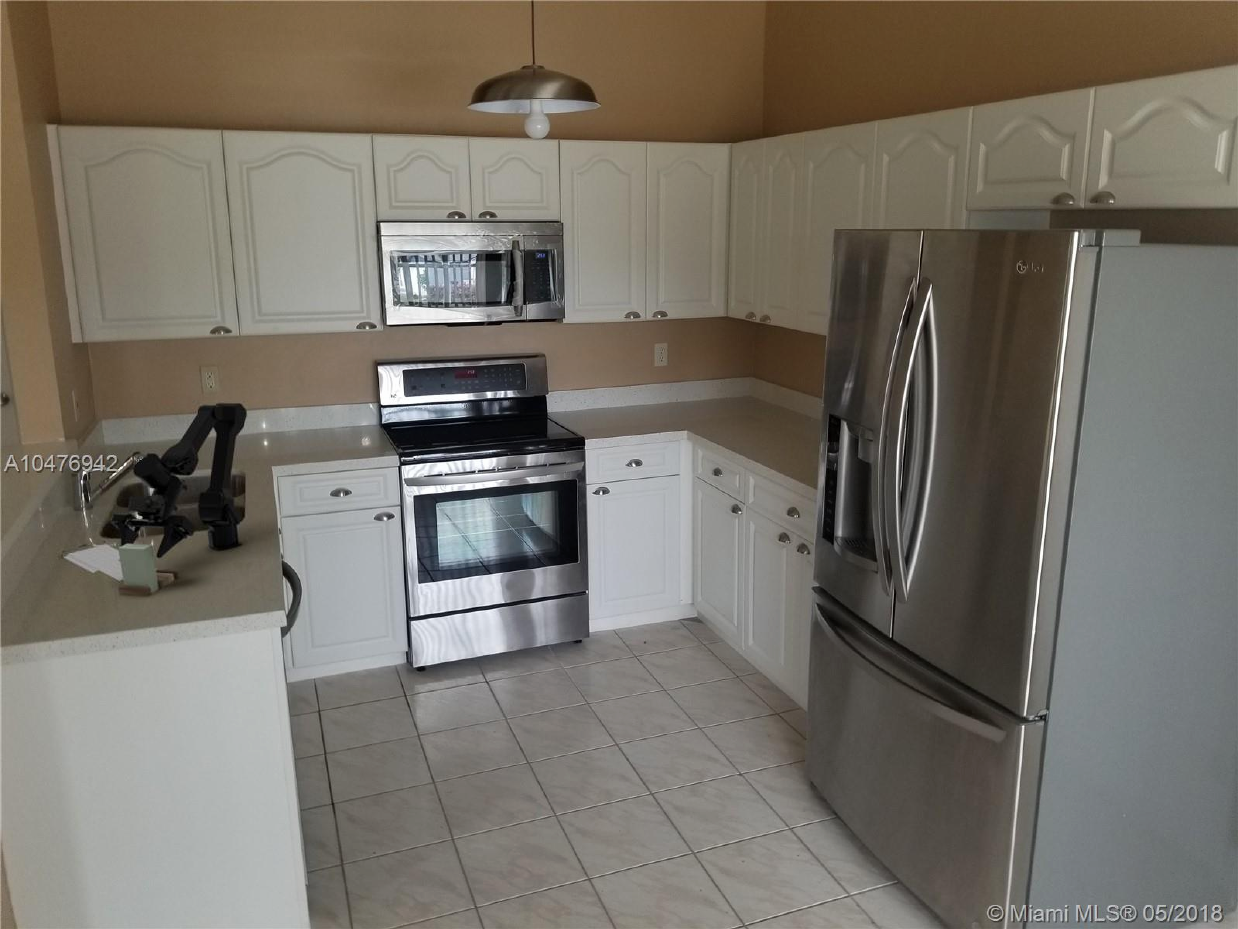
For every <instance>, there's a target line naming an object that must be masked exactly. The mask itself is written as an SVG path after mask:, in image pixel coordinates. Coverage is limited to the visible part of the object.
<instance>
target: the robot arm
mask: <svg viewBox="0 0 1238 929" xmlns="http://www.w3.org/2000/svg"><path fill="white" fill-rule="evenodd" d="M247 412H248V411H247V409H246V408H245V407H244V405H243V404H242V403H240V402H236V403H235V402H217V403H216V404H203V405H200V406H199V407H198V409H197V414H196V415H195V417H194V419H193V420H192V422H191V423H190V425H188V428H187V429H186V431H185V433H184V434H183V435H182V437H181V439H180V440H179V442H178V443H176V444H174V445H172V446H169V447H168V449H167V450H166V451H165V452H164V453H163V455H162V456H161V458H160V457H159V455H158V454H157V453H151V452H150V453H149V452H148V453H147V454H146V455H145V456H146V457H143V458H141V459H139V460H138V461H137V462H136V463H135V464H134V465H133V468H132V469H133V470H132V472H133V475H134V476H136V477H137V478H138V479H139V480H140V481H141V482H142V483H143V484H144V485H145V486H147V487H148V488H150V489H153V490H152V493H151V495H146V496H145V497H142V496H141V497H139V496H138V497H136V496H130V497H129V502H128V508H127V511H128V512H116V513H114V514H113V515H112V518H111V519H110V523H111V524H112V525H113V526H114V527H115V528H116V529H118V530H119V534H120V547H121V546H123V545H125V544H135V542H136V540H137V539H138V537H139V534H138V533H139V532H140V531H141V529H142V528H149V529H150V528H151V529H163V537H162V539H161V542H160V544H159V547H158V548H157V552H156V557H157V558H158V559H161V558H162V557H163V556H165V554H167V553H168V552H169V551H170V550H172V549H173V547H175V546H177V544H179V543H180V542H181V541H183V540H185V539H186V540H187V538H188V537H192V536H193V535H194V534H195V531H196V525H195V523H193V521H191V520H190V519H189V518H188V517H187V516H185V515H179V514H177V515H175V514H173V512H177V511H178V506H177V502H178V499H179V496H180V495H181V491H184V492H186V491H188V490H189V488H188V485H187V484H186V480H185V479H180V478H179V477H178V476H180V477H181V476H182V477H184V476H185V477H187V476H192V475H193V473H194V472H195V470H196V468H197V466H198V463H199V461H200V460H199V451H201V448H202V447H203V445H204V444H205V442H206V440H207V439H208V438H209V435H210V433H211V432H212V431H213V429H214V432H215V442H214V449H213V455H212V463H211V470H210V477H209V486H208V488H207V489H206V490H205V491H201V492H200V493H199V494H198V497H199V498H198V503H197V514H198V516H199V518H200V520H201V524H202V526H208V531H207V538H208V543H207V544H208V547H210V548H212V549H215V550H217V551H223V550H226V549H229V548H234V547H236V546H242V545H243V543H242V541H239V534H238V533H239V532H238V526H237V525H240V523H241V522H242V519H243V517H242V516H243V514H242V513H241V511H239V510H238V509H237V508H236V507H235V498H234V496H233V494H232V492H231V491H230V484H231V478H232V470H233V461H234V455H235V447H236V439H237V436H238V435H239V434H240V432H241V431H242V430H243V429H244V427H245V423H246V421H247V420H246V419H247V417H248V413H247ZM131 511H132V512H137V513H136V515H137V516H139V517H141V518H137V517H135V516H134V515H133V514H132V513H129V512H131Z"/></svg>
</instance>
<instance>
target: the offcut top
mask: <svg viewBox="0 0 1238 929" xmlns="http://www.w3.org/2000/svg"><path fill="white" fill-rule="evenodd" d="M156 575H157V580H163V582H165V581H167V580H169V579H170V578H172V577H174V576H173V574H172V573H156Z"/></svg>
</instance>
